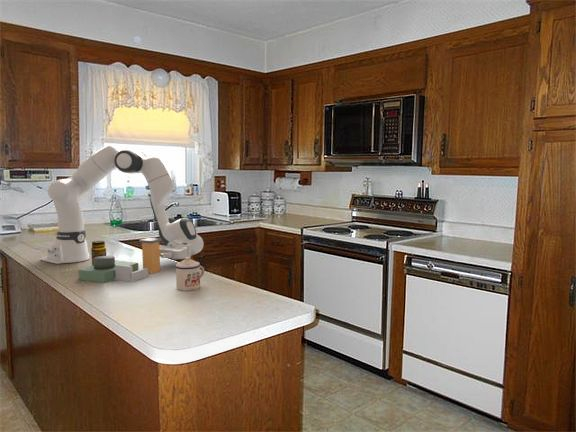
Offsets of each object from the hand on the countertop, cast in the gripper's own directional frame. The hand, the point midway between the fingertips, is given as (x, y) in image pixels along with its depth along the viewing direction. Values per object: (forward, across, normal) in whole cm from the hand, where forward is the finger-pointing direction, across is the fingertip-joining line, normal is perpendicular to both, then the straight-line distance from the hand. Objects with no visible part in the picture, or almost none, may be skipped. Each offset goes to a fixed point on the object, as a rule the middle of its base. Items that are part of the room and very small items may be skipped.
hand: (153, 255), depth 193 cm
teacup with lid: (+12, +31, +7) cm, 34 cm away
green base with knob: (+15, -5, +7) cm, 17 cm away
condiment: (+9, -25, +7) cm, 28 cm away
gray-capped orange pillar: (+2, 0, +7) cm, 7 cm away
